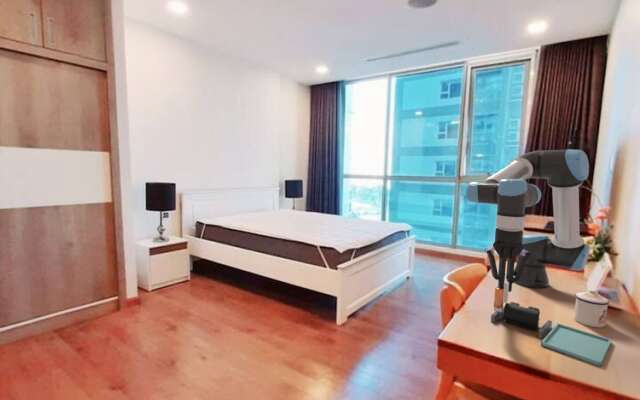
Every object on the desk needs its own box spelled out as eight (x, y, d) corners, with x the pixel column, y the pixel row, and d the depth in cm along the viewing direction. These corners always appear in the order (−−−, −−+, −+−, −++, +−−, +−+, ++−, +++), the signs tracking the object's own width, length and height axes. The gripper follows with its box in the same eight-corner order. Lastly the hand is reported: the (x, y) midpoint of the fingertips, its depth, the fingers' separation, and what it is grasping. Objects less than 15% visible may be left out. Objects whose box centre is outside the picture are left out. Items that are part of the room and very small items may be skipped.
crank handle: (505, 295, 119) (506, 275, 118) (503, 314, 103) (505, 290, 103) (495, 293, 121) (496, 273, 120) (491, 312, 105) (493, 288, 104)
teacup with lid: (605, 331, 111) (609, 297, 110) (571, 322, 117) (574, 290, 116) (607, 319, 120) (610, 288, 118) (575, 311, 126) (578, 281, 125)
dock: (500, 312, 124) (502, 292, 123) (551, 328, 112) (553, 305, 111) (488, 320, 116) (490, 299, 116) (541, 338, 105) (543, 315, 104)
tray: (557, 326, 113) (557, 323, 113) (611, 343, 103) (611, 339, 103) (540, 345, 101) (541, 341, 100) (600, 366, 90) (600, 362, 90)
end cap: (502, 324, 114) (503, 305, 114) (507, 317, 120) (508, 299, 119) (536, 334, 108) (538, 314, 107) (539, 326, 113) (541, 307, 113)
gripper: (526, 227, 106) (520, 297, 109) (483, 225, 108) (479, 294, 111) (537, 232, 99) (530, 307, 102) (491, 230, 101) (485, 304, 104)
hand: (503, 300), depth 106 cm, fingers closed
